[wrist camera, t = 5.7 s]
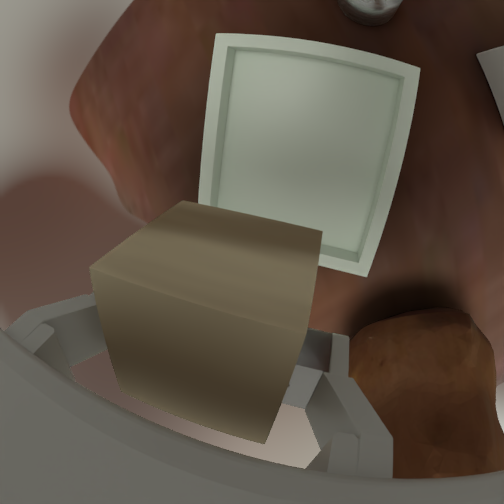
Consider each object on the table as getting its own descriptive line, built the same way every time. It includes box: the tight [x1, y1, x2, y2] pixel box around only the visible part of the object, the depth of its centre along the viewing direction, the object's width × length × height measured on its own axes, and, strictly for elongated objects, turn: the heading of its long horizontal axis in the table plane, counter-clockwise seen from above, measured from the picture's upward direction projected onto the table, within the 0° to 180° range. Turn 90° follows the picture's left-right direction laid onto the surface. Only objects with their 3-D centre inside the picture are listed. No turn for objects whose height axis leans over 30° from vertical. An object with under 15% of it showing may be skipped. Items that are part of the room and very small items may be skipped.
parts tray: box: [198, 33, 420, 277], centre depth 21 cm, size 16×14×2 cm
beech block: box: [89, 201, 323, 444], centre depth 8 cm, size 4×4×4 cm
